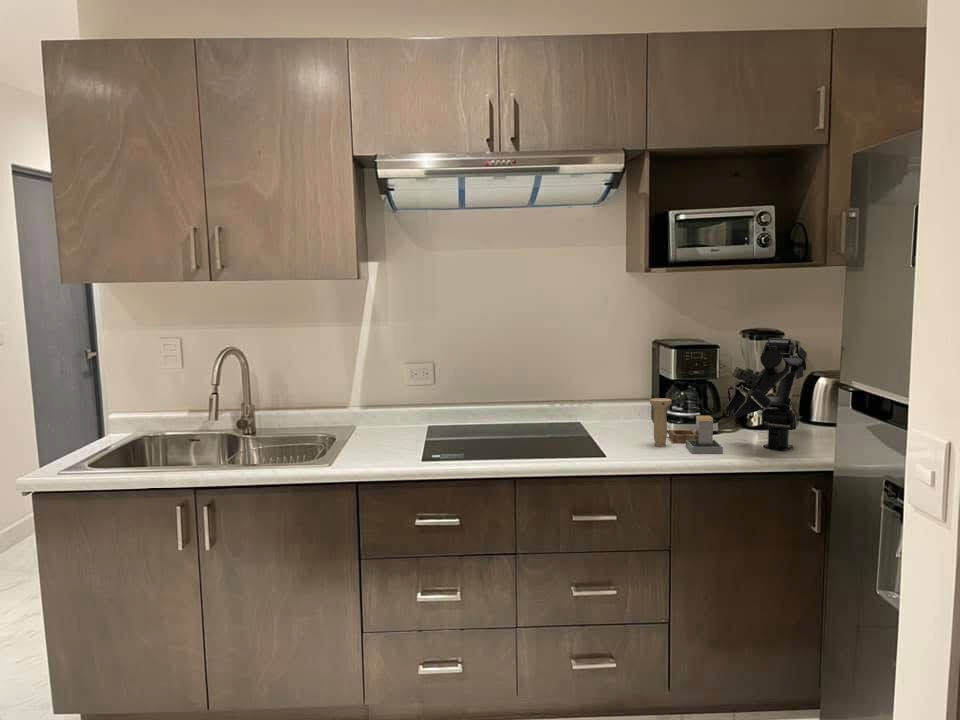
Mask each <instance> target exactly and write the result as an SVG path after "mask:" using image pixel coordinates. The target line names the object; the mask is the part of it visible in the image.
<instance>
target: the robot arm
mask: <svg viewBox="0 0 960 720" xmlns="http://www.w3.org/2000/svg"><path fill="white" fill-rule="evenodd" d="M795 354H796V355H795ZM759 358H760V359H759V360H760V363H761V365H762V367H763V368H762V369H761V370H760V371H755V372H754V370H753V369H751V368H748V367H746V368H745V369H743V368H740V367H739V366H736V367H735V369H734V370H733V373H732V374H731V377H733V378H734V379H737V380H736V381H735V382H734V383H732V384H733V386H732V389H733V394H732V397H731V398H730V400H729V402H728V403H727V405H726V407H725V408H724V409H725V412H730V411H733V410H734V409H737V410H736V411H735V413H734V414H733V417H734V418H735V419H738V418H740V417H744V416H746V415H750V414H752V413H755V412H759V411H761V419H762V422H761V423H762V428H767V429H768V432H767V434H768V435H767V443H765V444H764V445H762V447H763V448H767V449H772V450H778V451H787V450H789V449H791V448H793V447H794V446H793V445H791V444H789V441H790V440H789V435H790V431H793V430H797V417H796V414H795V411H794V410H793V404H792V398H793V394H794V390H795V387H796V384H797V380H798V379H801V378H803V377H804V375H805V373H806V371H808V368H809V359H808V352H807V351H806V350H805V349H803V348H802V346H801V341H799V340H797V339H796V340H794V339H792V338H784V337H783V338H778V337H776V338H775V337H772V338H771V337H769V338H768V340H767V341H766V342H765V344H764V346H763V349H762V352H761V355H760V357H759ZM777 384H778V386H776V385H777ZM775 389H776V393H775V396H772V395H771V396H769V397H768V396H767V394H768V393H769V392H770V391H771V390H775ZM738 407H739V408H738Z"/></svg>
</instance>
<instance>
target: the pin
mask: <svg viewBox="0 0 960 720" xmlns="http://www.w3.org/2000/svg"><path fill="white" fill-rule="evenodd" d="M695 432H696V447H712V442H713V440H714V439H713V438H714V435H713V433H714V418H713V417H712V416H711V415H696V416H695Z"/></svg>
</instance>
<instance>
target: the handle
mask: <svg viewBox="0 0 960 720" xmlns="http://www.w3.org/2000/svg"><path fill="white" fill-rule="evenodd" d="M649 404H650V405H651V406H653V407H654V420H653V421H654V423H653V440H654V446H655V447H657V448H664V447H666V446H667V443H666V442H667V440H668V439H667V437H668V425H667V424H668V421H667V408H668V407H669V406H671V405H672V399H671V398H665V397H664V398H663V397H662V398H661V397H660V398H658V397H657V398H656V397H655V398H650V399H649Z"/></svg>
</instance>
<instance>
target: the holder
mask: <svg viewBox="0 0 960 720" xmlns="http://www.w3.org/2000/svg"><path fill="white" fill-rule="evenodd" d="M666 440H667V441H669V442H670V444H672V445H676V444H677V445H686V440H696V430H694V429H668V436H667V439H666Z"/></svg>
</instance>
